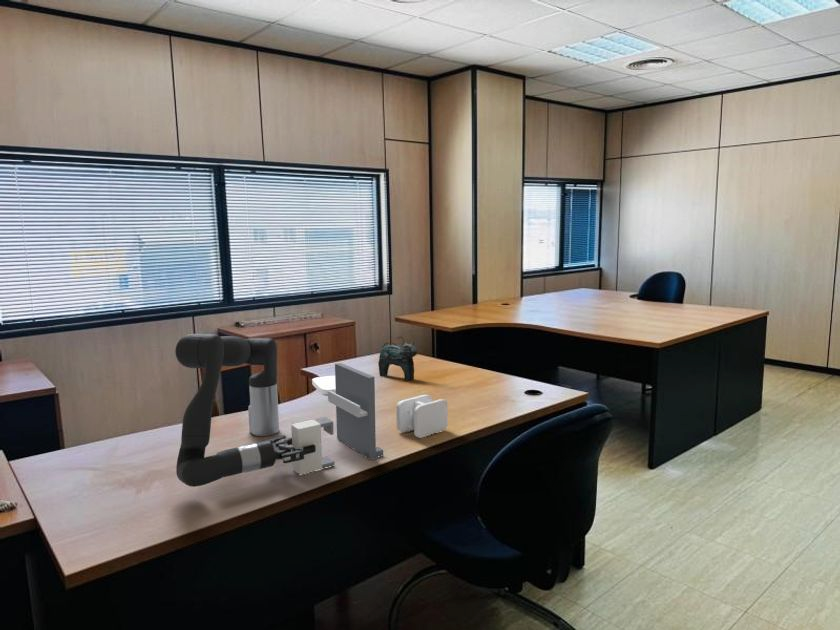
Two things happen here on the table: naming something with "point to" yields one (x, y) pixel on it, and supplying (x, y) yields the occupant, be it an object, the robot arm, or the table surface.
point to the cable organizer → (422, 415)
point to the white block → (310, 435)
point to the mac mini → (324, 384)
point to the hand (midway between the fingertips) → (308, 443)
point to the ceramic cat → (398, 359)
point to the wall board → (355, 409)
